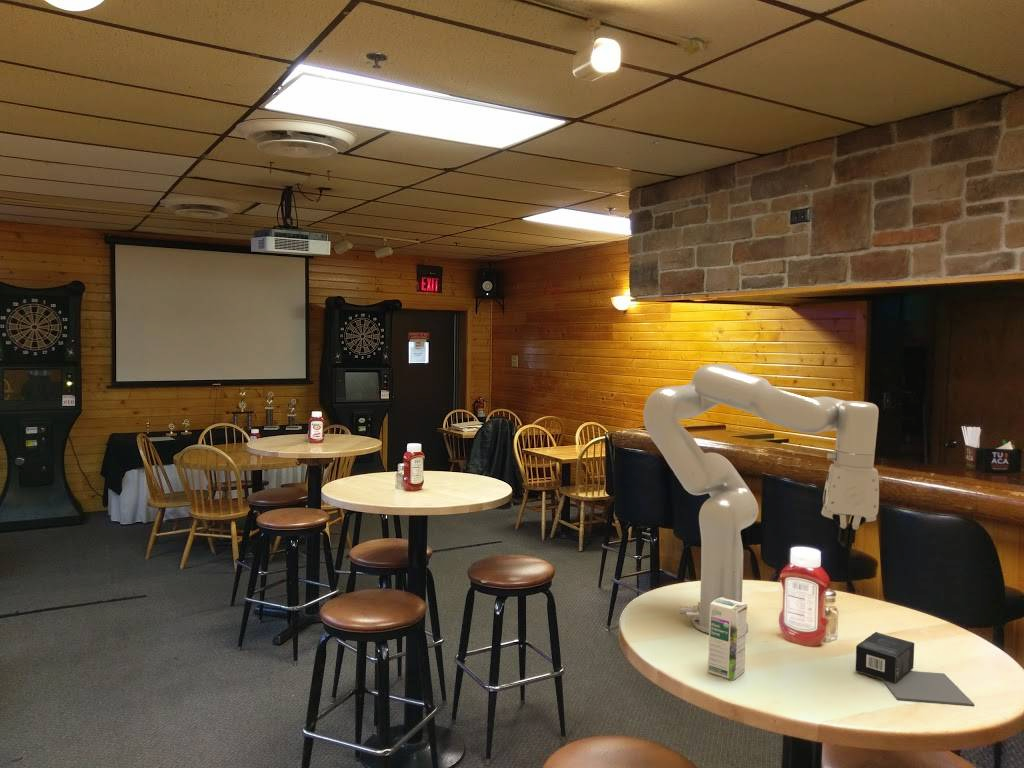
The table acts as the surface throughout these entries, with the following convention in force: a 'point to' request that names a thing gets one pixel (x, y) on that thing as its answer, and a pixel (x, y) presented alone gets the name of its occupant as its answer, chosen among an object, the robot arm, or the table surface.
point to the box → (885, 657)
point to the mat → (928, 689)
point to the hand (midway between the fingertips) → (845, 545)
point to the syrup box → (727, 638)
